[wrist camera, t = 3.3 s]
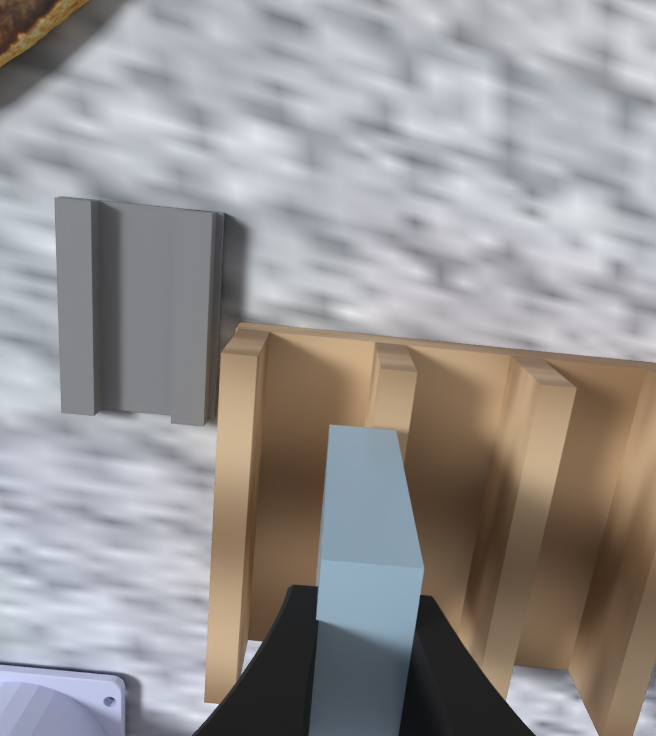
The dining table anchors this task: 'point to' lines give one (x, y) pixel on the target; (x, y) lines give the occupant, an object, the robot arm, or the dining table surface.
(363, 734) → the plate
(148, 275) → the holder
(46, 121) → the dining table surface
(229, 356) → the rack
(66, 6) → the shard
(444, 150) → the dining table surface
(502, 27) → the dining table surface
